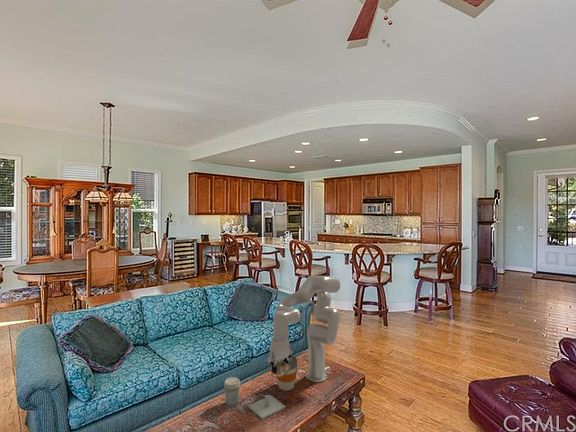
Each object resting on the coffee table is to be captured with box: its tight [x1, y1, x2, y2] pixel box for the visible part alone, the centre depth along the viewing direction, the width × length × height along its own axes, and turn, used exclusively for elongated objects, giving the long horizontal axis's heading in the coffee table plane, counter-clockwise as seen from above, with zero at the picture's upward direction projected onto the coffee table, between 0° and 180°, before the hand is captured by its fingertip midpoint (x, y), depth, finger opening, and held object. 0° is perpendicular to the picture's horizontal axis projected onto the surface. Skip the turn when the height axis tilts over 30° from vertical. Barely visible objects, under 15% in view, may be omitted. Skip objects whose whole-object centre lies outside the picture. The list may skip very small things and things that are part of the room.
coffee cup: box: [223, 376, 241, 408], centre depth 166 cm, size 8×8×12 cm
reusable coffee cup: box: [275, 355, 298, 391], centre depth 183 cm, size 13×13×15 cm
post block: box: [248, 394, 286, 420], centre depth 163 cm, size 14×12×6 cm
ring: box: [269, 360, 290, 377], centre depth 164 cm, size 7×7×4 cm
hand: (279, 370), depth 164 cm, fingers closed on ring, 7 cm apart
